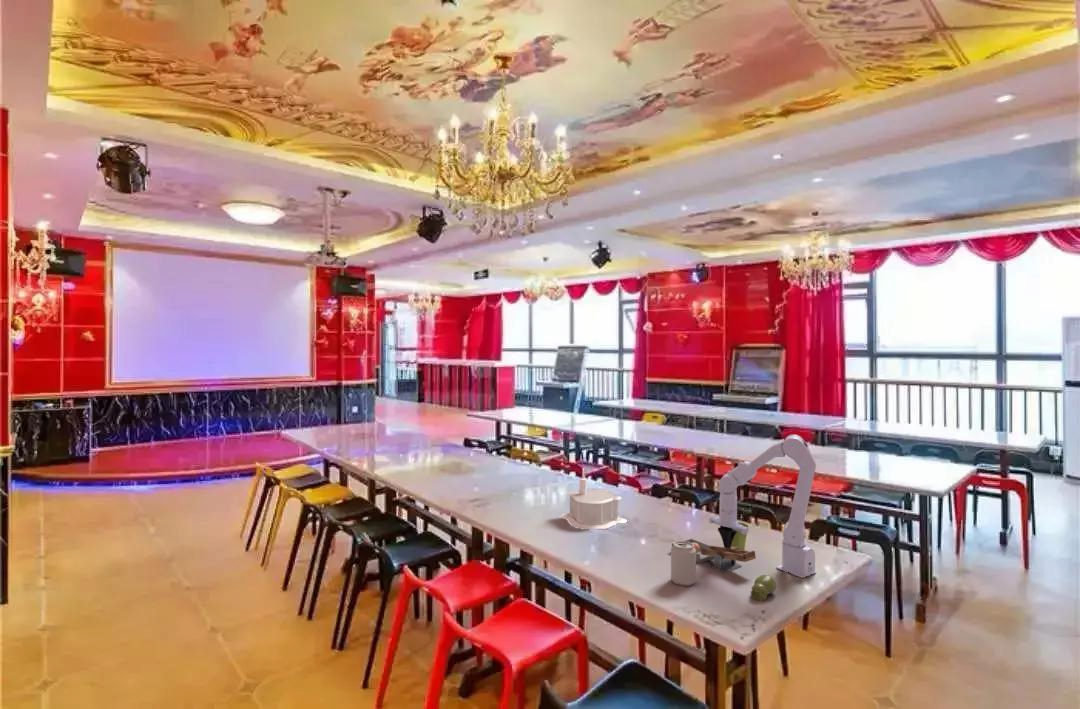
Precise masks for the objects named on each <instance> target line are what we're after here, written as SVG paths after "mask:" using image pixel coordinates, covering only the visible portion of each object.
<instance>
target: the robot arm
mask: <svg viewBox="0 0 1080 709" xmlns="http://www.w3.org/2000/svg"><path fill="white" fill-rule="evenodd" d="M786 456H787V457H789V459H791V460H793V462H794V463H796V465H797V467H799V470H798V471H799V472H798V476H797V481H796V486H795V492H794V495H793V500H792V505H791V510H790V515H789V518H788V520H787V521H786V523H785V525H784V530H783V533H782V536H783V539H782V540H781V541H782V544H781V545H782V546H781V549H782V550H781V551H782V552H781V564H780V565H778V566H776V569H778V570H780V571H782V570H783V572H786V573H788V572H789V573H788V574H790V573H791V575H793V576H796V577H799V578H801V579H803V578H806V576H807V577H810V576H812V575H813V574H814V575H815V574H817V571H816V552H815V550H814V549H813V548H811V547H809V546H808V545H807V541H806V540H805V538H806V537H805V534H806V526H805V520H806V516H807V512H808V511H807V510H808V507H809V506H808V505H809V502H810V498H811V497H810V496H811V493H812V492H811V491H812V487H813V483H814V478H815V473H816V468H817V462H816V460H815V458H814V455H813V454H812V452H811V448H810V447H809V444H808V442H806V441H805V440H804V439H803V437H802V436H800V435H798V434H789V435H788V436H786V437H785V439H784V438H782V439H781V440H779V441H777V442H775V443H773V444H772V445H771V446H769V447H768V448H767V449H765V451H763V452H762V453H760V454H759V455H758V456H756V457H755V458H754V459H752V460H751V461H747V460H744V461H743V462H742V461H739V462H738V463H737V466H736V467H734V468H733V469H732V470H728V471H727V472H726V474H724V475H723V476H722V477H721V478H720V479H719V482H718V487H719V490H720V491H719V515H718V516H719V517H716V516H714V515H713V516H709V521H708V522H709V524H714V525H717V526H719V527H718V528H717V531H718V533H719V534H720V537H721V540H722V544H723V547H724V548H731V544H732V541H733V538H734V536H735V535H736V533H737V532H741V533H742V534H749V529H748V528H747V527H744V526H743V525H741V524H739V523H737V522H738V496H737V492H738V491H737V488H738V487H739V486H743V485H744V484H746V483H747V482H748V481H750V480H751V479H753V478H755V476H756V475H757V471H758V469H760V468H761V467H763V466H764V465H766V464H767V463H770V462H771V461H772V460H773V459H775V458H785V457H786ZM811 574H812V575H811Z"/></svg>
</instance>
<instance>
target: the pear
mask: <svg viewBox="0 0 1080 709" xmlns="http://www.w3.org/2000/svg"><path fill="white" fill-rule="evenodd" d="M776 589H777V582H776V580H775V578H773V576H771V575H770V574H762V575H759V576H758V577H757V578H755V581H754V584H753V585H752V587H751V592H750V598H752V599H755V600H756V601H757V600H758V601H760V602H763V601H766V600H767V596H768V595H772V594H773V593H775V591H776Z"/></svg>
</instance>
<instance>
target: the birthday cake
mask: <svg viewBox="0 0 1080 709" xmlns="http://www.w3.org/2000/svg"><path fill="white" fill-rule="evenodd" d="M581 471H582V473H581V474H582V476H581V477H582V478H579V480H578V481H579V487H578V488H579V490H578V491H570V492H568V493H567V494H566V496H568V497H569V513H562V514H561V517H562V518H564V519H568V520H569V522H570V523H571V525H572V526H575V527H578V528H583V529H606V528H609V527H611V526H613V525H616V524H617V523H626V522H627V520H628V519H626V518H622V517H621V516H619V500H622V497H621V496H619V495H618V494H614V493H613V492H611V491H610V490H607V489H603V488H587V478H586V477H585V473H586V472H585V468H584V467H583V468H582V470H581ZM618 516H619V517H618ZM572 526H571V527H572ZM578 528H577V529H578ZM583 529H582V530H583Z"/></svg>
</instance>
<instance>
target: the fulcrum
mask: <svg viewBox="0 0 1080 709" xmlns="http://www.w3.org/2000/svg"><path fill="white" fill-rule="evenodd" d="M708 567H709V568H711V569H714V570H716V571H719V572H720V573H723V574H724V573H727V572H729V571H733V570H735V569H736V570H737V569H738V568H741V567H742V564H740V563H738V562H737V560H731V559H725V558H721V555H719V554H716V553H715V554H714V559H713V563H710V564H708Z"/></svg>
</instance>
